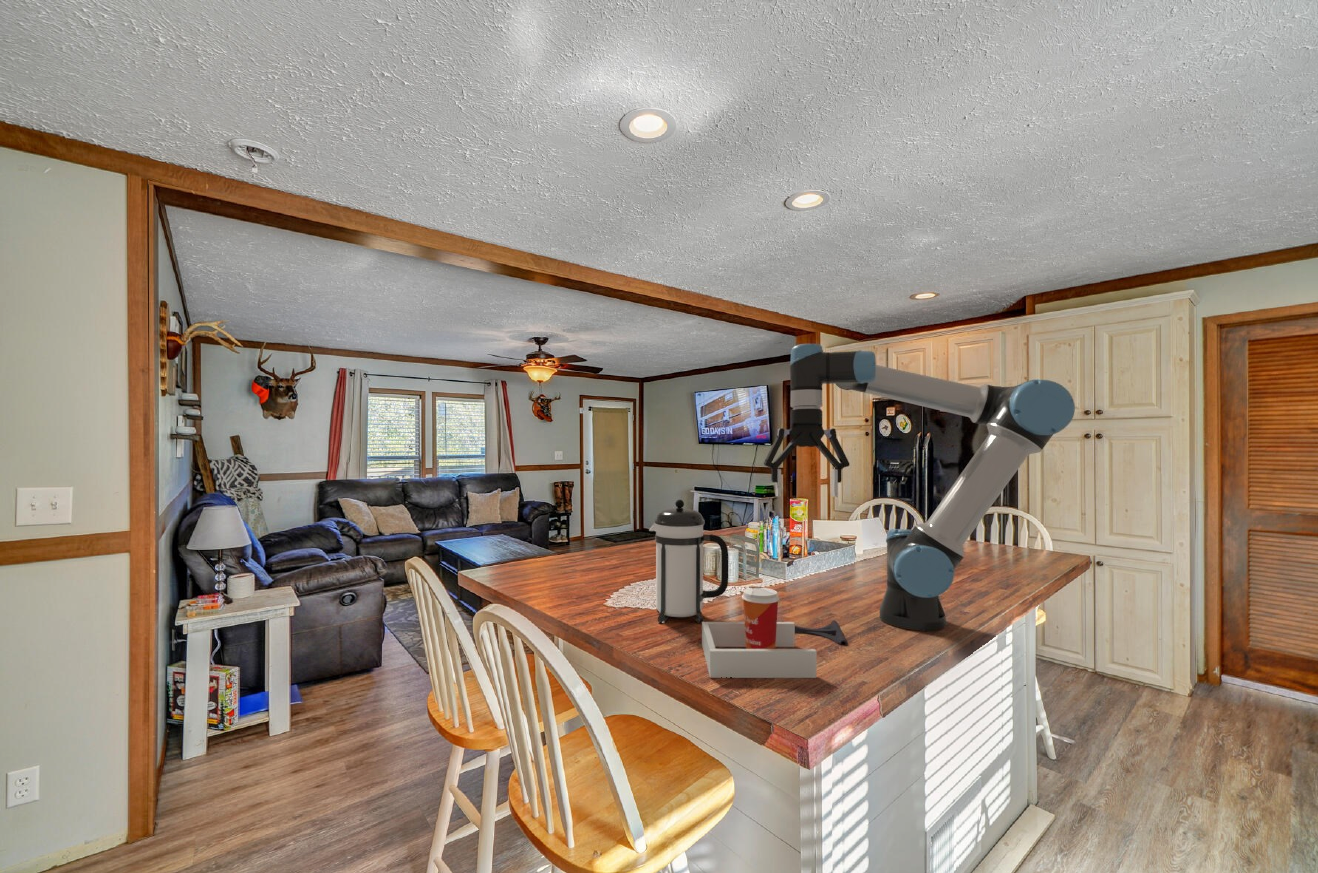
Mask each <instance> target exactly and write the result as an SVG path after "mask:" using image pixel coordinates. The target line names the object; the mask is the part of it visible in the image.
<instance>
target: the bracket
mask: <svg viewBox="0 0 1318 873" xmlns="http://www.w3.org/2000/svg"><path fill="white" fill-rule="evenodd" d="M781 622H784V620H783V621H781ZM796 633H797V634H808V635H814V636H819V637H822V638H824V639H827V640H830V641H832V642H834V643H835V644H837V645H840V646H842V643H844V645H845V646H848V642H847V639H846V638H845V635H844V633H843V632H842V629H841V627H840V625H839V623H838V622H837V621H836V620H832V621H830V623H829V624H828V625H826V626H823V627H818V628H808V627H803V626H798V625H795V634H796ZM829 634H832V635H829Z"/></svg>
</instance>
